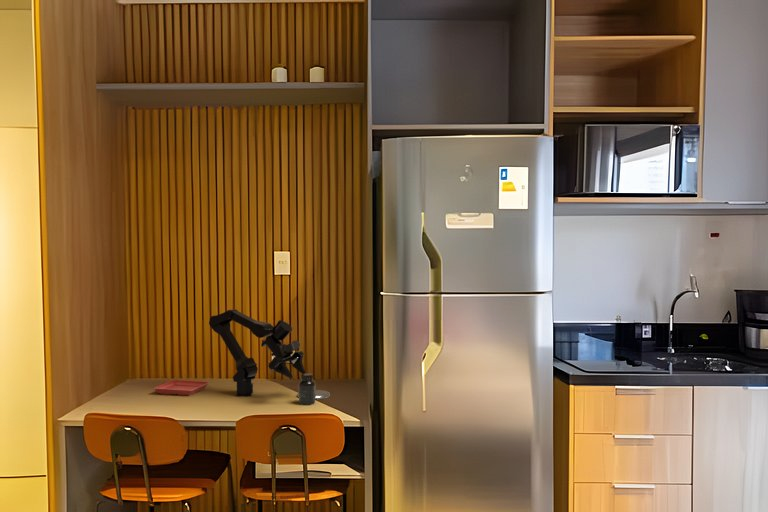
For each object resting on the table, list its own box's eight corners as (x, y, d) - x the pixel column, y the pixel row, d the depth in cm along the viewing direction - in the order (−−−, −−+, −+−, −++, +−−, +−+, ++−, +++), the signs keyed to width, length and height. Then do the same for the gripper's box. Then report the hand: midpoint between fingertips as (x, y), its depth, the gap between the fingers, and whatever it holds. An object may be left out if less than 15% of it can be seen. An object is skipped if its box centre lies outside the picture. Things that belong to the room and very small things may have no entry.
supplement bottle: (308, 400, 275) (308, 372, 274) (318, 403, 270) (318, 374, 269) (295, 403, 270) (295, 374, 270) (305, 406, 265) (305, 376, 265)
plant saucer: (210, 388, 299) (210, 381, 299) (191, 397, 281) (191, 389, 281) (173, 386, 302) (173, 379, 302) (152, 395, 284) (152, 388, 284)
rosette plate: (297, 400, 275) (297, 397, 275) (297, 392, 289) (297, 390, 289) (330, 399, 277) (330, 396, 277) (329, 391, 291) (329, 389, 291)
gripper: (274, 337, 265) (296, 366, 261) (300, 332, 282) (322, 359, 277) (258, 355, 269) (280, 384, 264) (285, 349, 286) (306, 376, 281)
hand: (298, 375), depth 272 cm, fingers open, 9 cm apart
